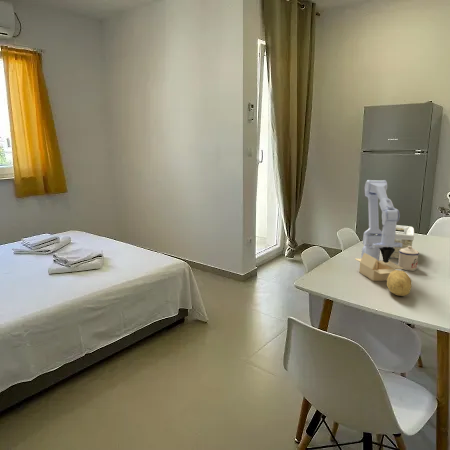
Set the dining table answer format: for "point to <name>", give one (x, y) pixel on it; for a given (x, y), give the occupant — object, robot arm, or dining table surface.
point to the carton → (378, 270)
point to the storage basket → (403, 239)
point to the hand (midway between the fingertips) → (385, 262)
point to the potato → (399, 283)
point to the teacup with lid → (408, 258)
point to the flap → (368, 260)
